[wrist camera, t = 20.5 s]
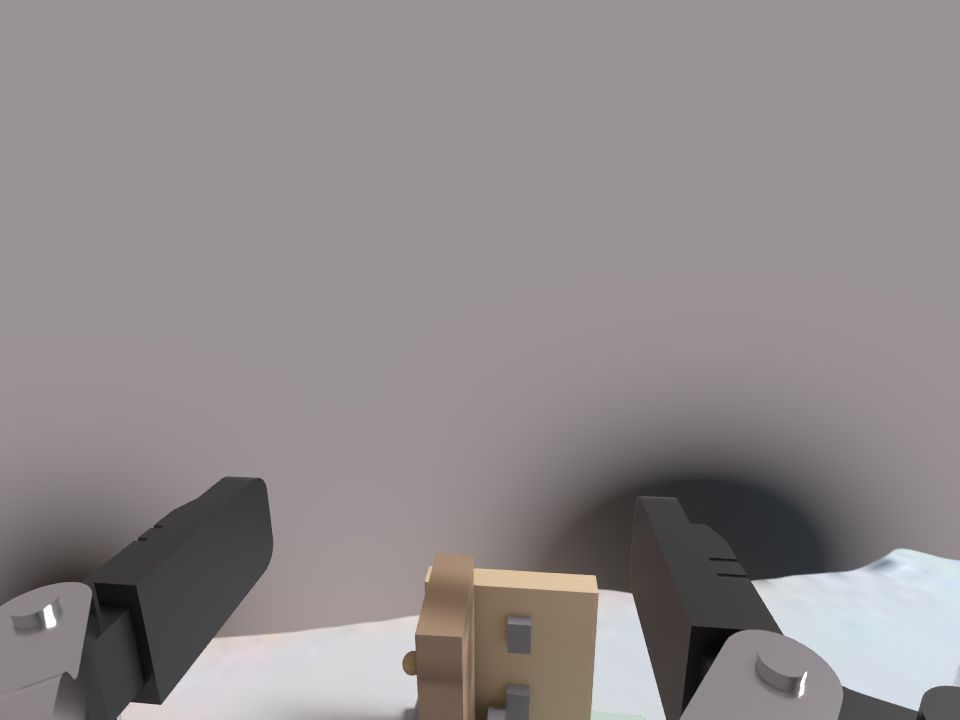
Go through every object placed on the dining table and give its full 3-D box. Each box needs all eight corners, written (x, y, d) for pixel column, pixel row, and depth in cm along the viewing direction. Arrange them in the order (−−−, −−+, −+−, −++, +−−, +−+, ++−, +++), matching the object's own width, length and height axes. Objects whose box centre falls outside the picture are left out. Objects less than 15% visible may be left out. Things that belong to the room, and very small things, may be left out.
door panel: (465, 855, 31) (461, 637, 27) (407, 850, 31) (395, 633, 27) (475, 743, 38) (473, 554, 34) (427, 739, 38) (420, 552, 34)
